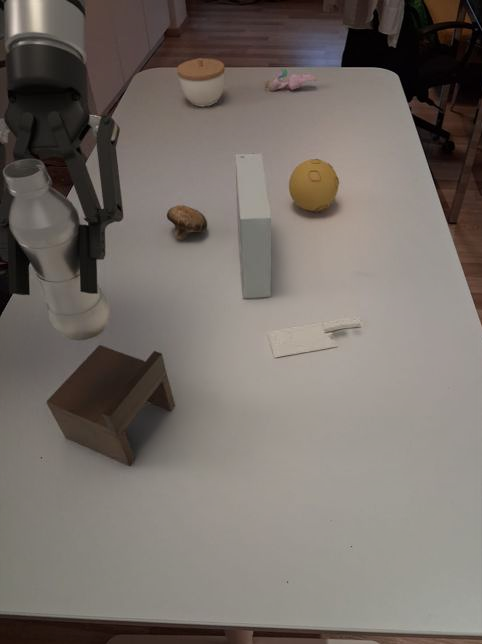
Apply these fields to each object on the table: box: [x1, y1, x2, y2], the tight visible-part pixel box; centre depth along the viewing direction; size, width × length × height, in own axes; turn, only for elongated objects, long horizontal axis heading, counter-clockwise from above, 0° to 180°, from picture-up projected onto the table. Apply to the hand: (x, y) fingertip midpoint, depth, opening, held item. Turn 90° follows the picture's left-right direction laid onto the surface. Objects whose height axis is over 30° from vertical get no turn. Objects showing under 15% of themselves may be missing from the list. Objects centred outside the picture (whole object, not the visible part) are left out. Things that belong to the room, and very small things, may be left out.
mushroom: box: [166, 204, 208, 241], centre depth 104 cm, size 8×8×6 cm
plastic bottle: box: [3, 159, 111, 341], centre depth 55 cm, size 6×7×20 cm
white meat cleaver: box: [266, 316, 362, 359], centre depth 84 cm, size 5×15×1 cm, turn 101°
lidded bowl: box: [176, 57, 226, 105], centre depth 145 cm, size 13×13×11 cm
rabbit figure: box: [263, 68, 318, 92], centre depth 151 cm, size 6×6×15 cm
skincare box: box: [235, 153, 272, 299], centre depth 93 cm, size 21×6×16 cm, turn 4°
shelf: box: [45, 344, 176, 467], centre depth 71 cm, size 11×11×11 cm
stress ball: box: [288, 158, 340, 213], centre depth 107 cm, size 10×10×10 cm
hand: (54, 293), depth 54 cm, fingers closed on plastic bottle, 6 cm apart
